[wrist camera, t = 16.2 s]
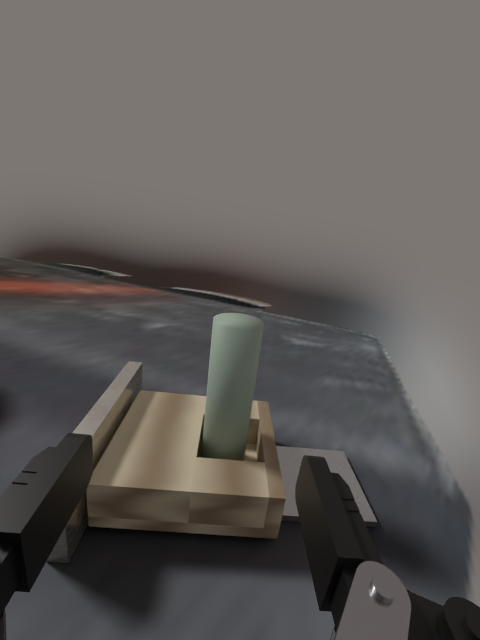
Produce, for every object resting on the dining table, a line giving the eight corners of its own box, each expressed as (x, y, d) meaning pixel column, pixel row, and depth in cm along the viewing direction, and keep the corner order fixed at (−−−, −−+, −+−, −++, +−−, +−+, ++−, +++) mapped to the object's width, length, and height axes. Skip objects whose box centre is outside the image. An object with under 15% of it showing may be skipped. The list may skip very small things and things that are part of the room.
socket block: (88, 526, 21) (85, 484, 20) (139, 421, 33) (140, 390, 31) (277, 538, 22) (285, 498, 21) (262, 431, 33) (267, 401, 32)
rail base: (45, 561, 19) (35, 480, 17) (129, 414, 35) (128, 361, 32) (401, 582, 21) (432, 509, 18) (330, 431, 36) (343, 381, 34)
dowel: (197, 478, 25) (211, 326, 21) (203, 444, 29) (215, 310, 25) (243, 482, 25) (266, 332, 21) (243, 448, 29) (262, 316, 25)
